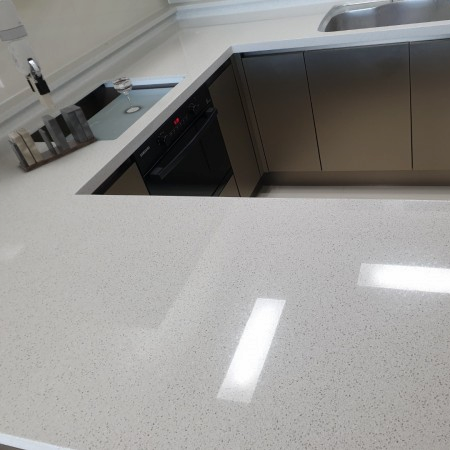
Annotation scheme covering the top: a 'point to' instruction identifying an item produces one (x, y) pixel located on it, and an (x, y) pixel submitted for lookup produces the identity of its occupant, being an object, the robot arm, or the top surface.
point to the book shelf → (30, 152)
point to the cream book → (43, 96)
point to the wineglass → (124, 89)
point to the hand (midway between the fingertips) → (41, 91)
